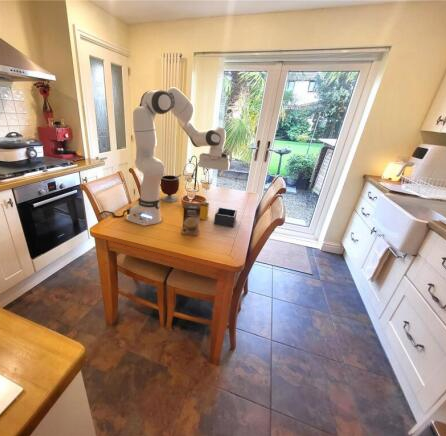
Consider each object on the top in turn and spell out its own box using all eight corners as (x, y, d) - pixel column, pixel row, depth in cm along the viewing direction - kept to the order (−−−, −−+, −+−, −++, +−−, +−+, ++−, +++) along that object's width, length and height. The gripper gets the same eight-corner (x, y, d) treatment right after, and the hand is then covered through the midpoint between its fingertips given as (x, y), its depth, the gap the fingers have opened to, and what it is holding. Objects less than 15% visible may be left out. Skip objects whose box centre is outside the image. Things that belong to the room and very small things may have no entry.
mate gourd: (157, 200, 176) (157, 174, 167) (164, 195, 188) (164, 170, 179) (177, 203, 172) (178, 177, 164) (182, 197, 184) (183, 172, 176)
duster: (199, 218, 150) (200, 204, 145) (200, 216, 154) (202, 201, 149) (206, 220, 148) (207, 205, 144) (207, 217, 152) (209, 203, 148)
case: (213, 224, 144) (215, 213, 141) (217, 216, 154) (218, 207, 151) (232, 227, 140) (234, 217, 137) (235, 219, 150) (237, 210, 147)
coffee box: (181, 234, 130) (183, 207, 123) (182, 229, 136) (184, 203, 129) (198, 235, 129) (200, 209, 123) (198, 230, 135) (200, 204, 128)
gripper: (199, 151, 150) (195, 173, 152) (230, 155, 144) (226, 178, 146) (201, 153, 156) (197, 174, 158) (231, 157, 150) (227, 178, 152)
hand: (211, 176), depth 152 cm, fingers open, 8 cm apart
